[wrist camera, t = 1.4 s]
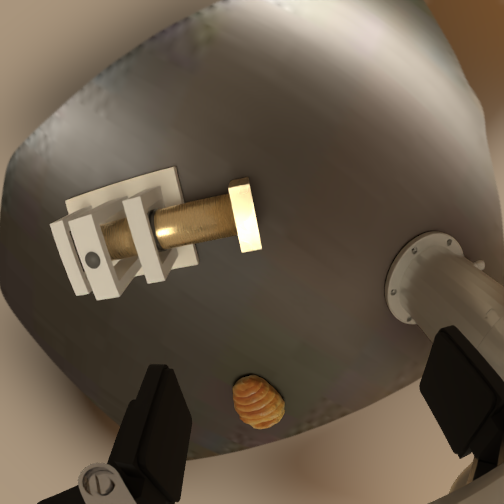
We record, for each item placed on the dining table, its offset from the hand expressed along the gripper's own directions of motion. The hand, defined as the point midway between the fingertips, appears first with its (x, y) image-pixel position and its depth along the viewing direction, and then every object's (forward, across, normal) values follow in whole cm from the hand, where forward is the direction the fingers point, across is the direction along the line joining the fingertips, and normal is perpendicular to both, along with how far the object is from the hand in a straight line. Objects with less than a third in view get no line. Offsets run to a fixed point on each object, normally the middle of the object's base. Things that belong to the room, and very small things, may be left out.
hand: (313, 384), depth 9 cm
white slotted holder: (+21, +15, -1) cm, 26 cm away
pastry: (+22, +4, +25) cm, 34 cm away
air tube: (+20, +9, -2) cm, 22 cm away
